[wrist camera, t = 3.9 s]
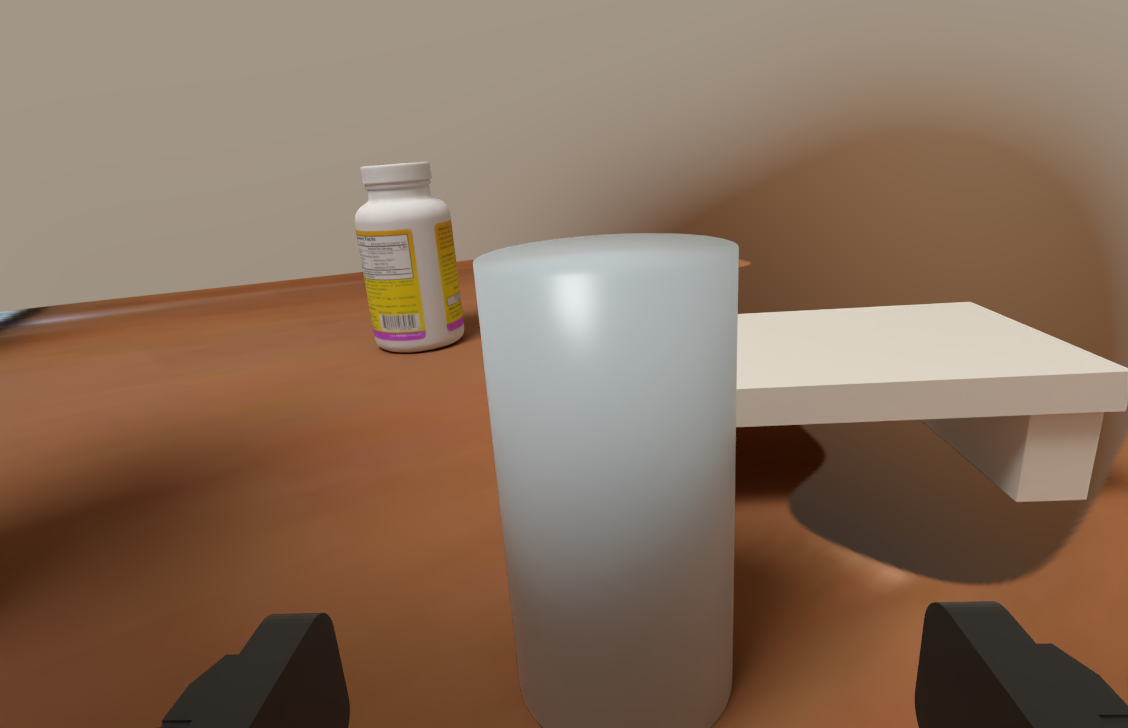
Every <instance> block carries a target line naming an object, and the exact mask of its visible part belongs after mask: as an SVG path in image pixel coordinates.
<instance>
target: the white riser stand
mask: <svg viewBox="0 0 1128 728" xmlns="http://www.w3.org/2000/svg"><path fill="white" fill-rule="evenodd" d="M1127 403H1128V368H1126V367H1123V366H1121V365H1119V364H1116V363H1114V362H1111V361H1109V360H1107V359H1104V358H1102V357H1100V356H1097V355H1095V354H1093V353H1090V352H1088V351H1085V350H1083V349H1081V348H1078V347H1076V346H1073V345H1071V344H1069V343H1067V342H1064V341H1062V340H1059V339H1057V338H1055V337H1052V336H1050V335H1048V334H1045V333H1043V332H1041V331H1038V330H1036V329H1033V328H1031V327H1029V326H1026V325H1024V324H1021V323H1019V322H1017V321H1015V320H1012V319H1010V318H1007V317H1005V316H1003V315H1000V314H998V313H996V312H993V311H991V310H989V309H986V308H984V307H981V306H979V305H977V304H974V303H972V302H959V303H939V304H920V305H901V306H882V307H864V308H845V309H826V310H808V311H789V312H769V313H750V314H738V325H737V395H736V427H753V426H777V425H801V424H825V423H850V422H874V421H895V420H896V421H897V420H921V421H922V422H923V423H924V424H926V425H927V426H928V427H929V428H930V429H932V430H933V431H934V432H935V433H936V434H937V435H938V436H940V437H941V438H942V439H943V440H944V441H945V442H947V443H948V444H949V445H950V446H951V447H952V448H954V449H955V450H956V451H957V452H958V453H959V454H961V455H962V456H963V457H964V458H965V459H967V460H968V461H969V462H970V463H971V464H972V465H974V466H975V467H976V468H977V469H978V470H980V471H981V472H982V473H983V474H984V475H985V476H986V477H988V478H989V479H990V480H991V481H992V482H993V483H995V484H996V485H997V486H998V487H999V488H1000V489H1002V490H1003V491H1004V492H1005V493H1006V494H1007V495H1009V496H1010V497H1011V498H1012V499H1013V500H1015V501H1016V502H1031V501H1060V500H1086V499H1087V495H1088V489H1089V485H1090V479H1091V475H1092V469H1093V465H1094V460H1095V455H1096V450H1097V445H1098V439H1099V435H1100V430H1101V424H1102V420H1103V415H1104V412H1114V411H1126V407H1127Z"/></svg>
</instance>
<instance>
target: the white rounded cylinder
mask: <svg viewBox="0 0 1128 728" xmlns="http://www.w3.org/2000/svg"><path fill="white" fill-rule="evenodd" d="M738 249H739V246H738V245H737V244H736V243H734V242H732V241H729V240H726V239H721V238H717V237H709V236H702V235H690V234H669V233H635V234H610V235H595V236H581V237H570V238H561V239H553V240H546V241H539V242H532V243H526V244H521V245H516V246H511V247H506V248H502V249H498V250H495V251H491V252H489V253H486V254H483V255H481V256H479V257H478V258H477V259H475V260H474V261H473V268H474V277H475V286H476V296H477V305H478V314H479V323H480V332H481V341H482V350H483V359H484V368H485V377H486V386H487V395H488V404H489V413H490V422H491V431H492V440H493V449H494V458H495V468H496V477H497V486H498V495H499V504H500V513H501V522H502V531H503V540H504V549H505V558H506V567H507V576H508V585H509V594H510V603H511V612H512V621H513V631H514V640H515V649H516V658H517V667H518V676H519V685H520V691H521V694H522V698H523V700H524V702H525V704H526V707H527V709H528V710H529V712H530V713H531V715H532V716H533V717H534V719H535V720H536V721H537V722H538V723H539V724H540V725H541V726H542V727H543V728H711V727H712V726H713V725H714V723H715V722H716V721H717V720H718V719H719V718H720V716H721V714H722V713H723V711H724V709H725V708H726V706H727V703H728V701H729V698H730V695H731V690H732V673H733V603H734V534H735V464H736V395H737V325H738V256H739V250H738Z"/></svg>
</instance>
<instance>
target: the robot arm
mask: <svg viewBox="0 0 1128 728" xmlns="http://www.w3.org/2000/svg"><path fill="white" fill-rule="evenodd" d="M915 710H916V716H917V721H918V726H919V728H1128V706H1127V704H1126V703H1125V702H1124V701H1123V700H1122V699H1121V698H1120V697H1119V696H1118V695H1117V694H1116V693H1115V692H1114V691H1113V689H1112V688H1111V687H1110V686H1109V685H1108V684H1107V683H1106V682H1105V681H1104V680H1103V679H1102V678H1101V677H1100V676H1099V675H1098V674H1096V673H1095V672H1093V671H1092V670H1090V669H1089V668H1087V667H1086V666H1084V665H1083V664H1081V663H1080V662H1078V661H1077V660H1075V659H1074V658H1072V657H1071V656H1069V655H1068V654H1066V653H1065V652H1063V651H1062V650H1060V649H1059V648H1057V647H1056V646H1054V645H1053V644H1036V643H1035V642H1034V641H1033V639H1032V638H1031V637H1030V636H1029V635H1028V634H1027V633H1026V631H1025V630H1024V629H1023V628H1022V627H1021V626H1020V625H1019V623H1018V622H1017V621H1016V620H1015V619H1014V618H1013V616H1012V615H1011V614H1010V613H1009V612H1008V611H1007V610H1006V609H1005V608H1004V607H1003V606H1002V605H1001V604H999V603H997V602H993V601H982V602H934V603H931V604H930V605H929V606H928V608H927V610H926V613H925V618H924V626H923V634H922V642H921V650H920V658H919V665H918V673H917V681H916V689H915ZM349 715H350V706H349V697H348V692H347V688H346V683H345V678H344V673H343V669H342V664H341V659H340V655H339V650H338V645H337V640H336V636H335V631H334V627H333V623H332V620H331V618H330V617H329V616H328V615H327V614H325V613H302V614H271V615H269V616H267V617H266V618H265V619H264V620H263V621H262V623H261V624H260V625H259V627H258V628H257V630H256V631H255V632H254V634H253V635H252V637H251V638H250V640H249V641H248V642H247V644H246V645H245V647H244V648H243V649H242V651H241V652H240V654H239V655H226V656H224V657H223V658H222V659H221V660H219V661H218V662H217V663H216V664H214V665H213V666H212V667H211V668H209V669H208V670H207V671H206V672H204V673H203V674H202V675H201V676H199V677H198V678H197V679H196V680H194V681H193V682H192V683H191V684H189V686H188V687H187V688H186V690H185V691H184V692H183V694H182V695H181V696H180V698H179V699H178V700H177V702H176V703H175V704H174V705H173V707H172V708H171V709H170V711H169V712H168V713H167V715H166V716H165V717H164V719H163V720H162V726H161V727H160V728H348V726H349Z"/></svg>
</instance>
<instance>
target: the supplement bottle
mask: <svg viewBox="0 0 1128 728" xmlns="http://www.w3.org/2000/svg"><path fill="white" fill-rule="evenodd" d="M361 175H362V183H363V184H364V185H365V189H367V190H368V202H367V203H366V204H364V205H363V206H362V207H360V208H359V210H358V211H357V213H356V216H355V227H356V233H357V239H358V244H359V249H360V256H361V261H362V268H363V273H364V279H365V285H366V291H367V297H368V303H369V309H370V314H371V320H372V326H373V332H374V336H375V341H376V343H377V345H378V346H379V347H381V348H383V349H385V350H388V351H392V352H402V353H406V352H419V351H426V350H431V349H436V348H440V347H444V346H447V345H450V344H452V343H454V342H456V341H458V340H459V339H460V338H461V337H462V335H463V333H464V319H463V311H462V303H461V296H460V288H459V280H458V272H457V265H456V257H455V249H454V241H453V234H452V225H451V218H450V212H449V209H448V207H447V205H446V204H445V203H444V202H443V201H442V200H440V199H438V198H435V197H433V196H432V195H431V192H430V188H429V184H430V182H431V181H430V179H431V178H432V177H431V171H430V165H429V162H417V163H404V164H393V165H392V164H391V165H378V166H365V167H361Z"/></svg>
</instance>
